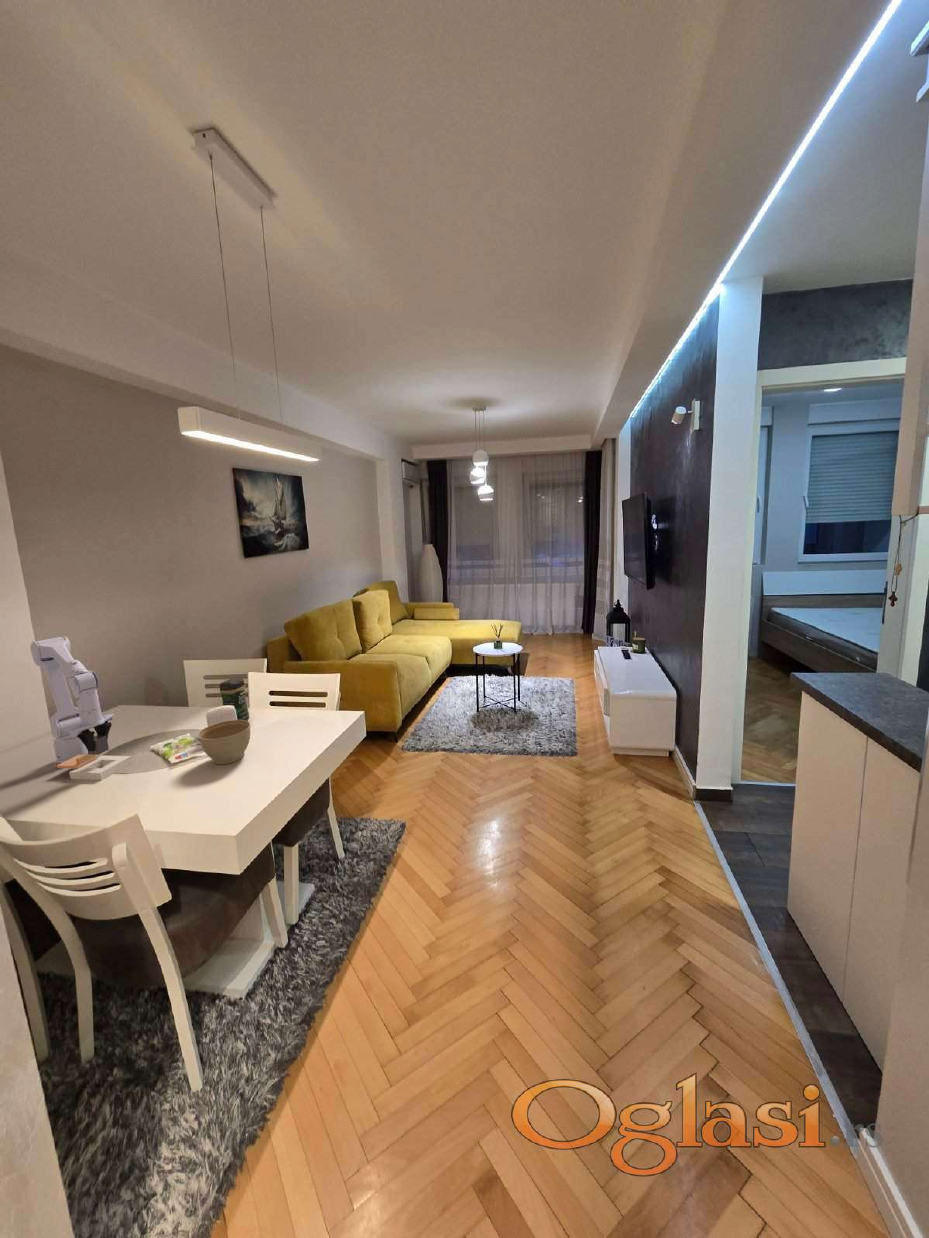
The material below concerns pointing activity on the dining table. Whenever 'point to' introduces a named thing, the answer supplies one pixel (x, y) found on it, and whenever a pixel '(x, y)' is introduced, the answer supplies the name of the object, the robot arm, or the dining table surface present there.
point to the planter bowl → (225, 740)
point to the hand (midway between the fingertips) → (97, 747)
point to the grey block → (99, 745)
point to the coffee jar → (235, 696)
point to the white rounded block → (221, 714)
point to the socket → (96, 772)
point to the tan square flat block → (77, 761)
